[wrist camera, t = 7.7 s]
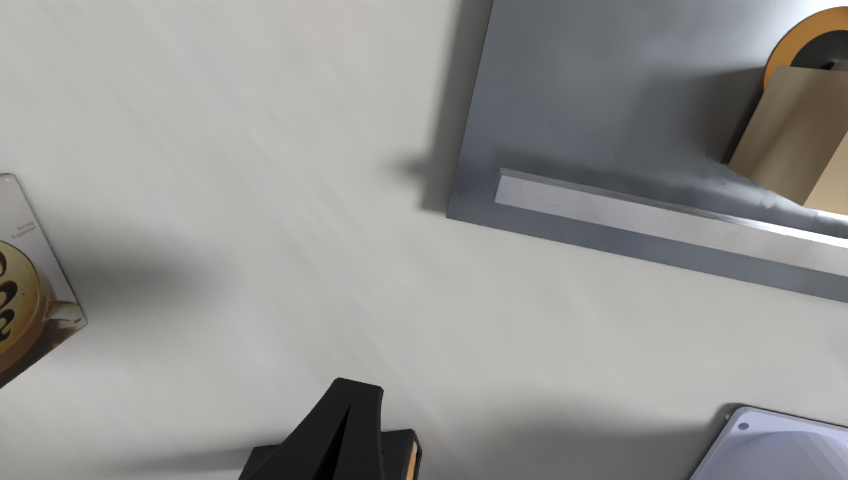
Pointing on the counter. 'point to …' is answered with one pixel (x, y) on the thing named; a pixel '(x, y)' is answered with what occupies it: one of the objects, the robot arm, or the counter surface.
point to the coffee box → (29, 288)
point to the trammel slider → (800, 138)
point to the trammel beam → (672, 221)
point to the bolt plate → (643, 118)
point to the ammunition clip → (396, 453)
